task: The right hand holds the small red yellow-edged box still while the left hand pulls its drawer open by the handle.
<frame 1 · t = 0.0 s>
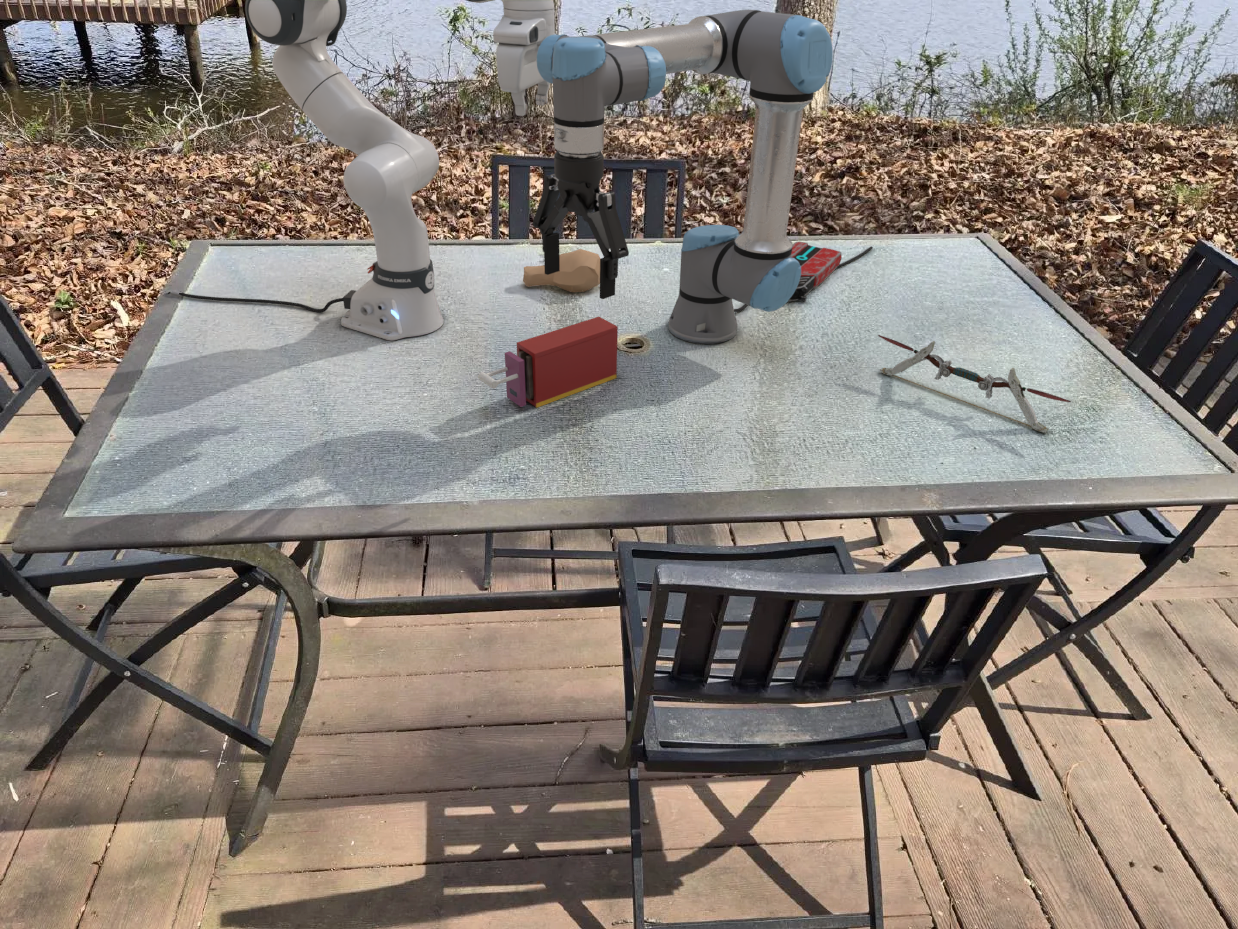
left hand: (531, 109, 161), 48 cm above the table, tool pointing down, fingers open, 8 cm apart
right hand: (579, 284, 144), 28 cm above the table, tool pointing down, fingers open, 13 cm apart
bow: (959, 401, 172), on the table
squash: (563, 287, 215), on the table
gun: (788, 277, 224), on the table
red yellow-edged box: (568, 386, 173), on the table
drawer: (540, 370, 166), point 6 cm above the table, slide at 1.9 cm
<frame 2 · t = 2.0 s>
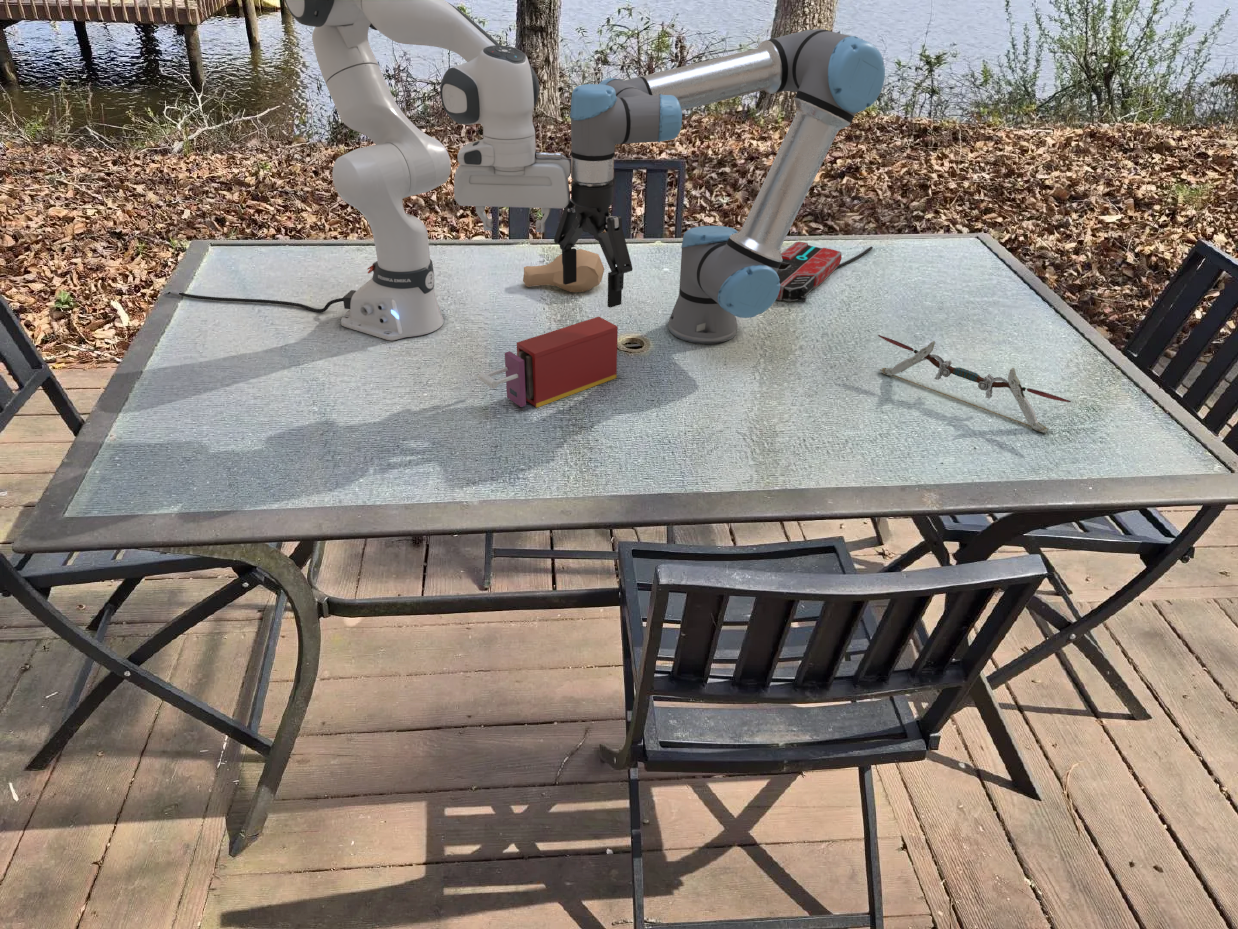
left hand: (514, 230, 158), 31 cm above the table, tool pointing down, fingers open, 8 cm apart
right hand: (591, 293, 166), 18 cm above the table, tool pointing down, fingers open, 13 cm apart
nothing on the table moved.
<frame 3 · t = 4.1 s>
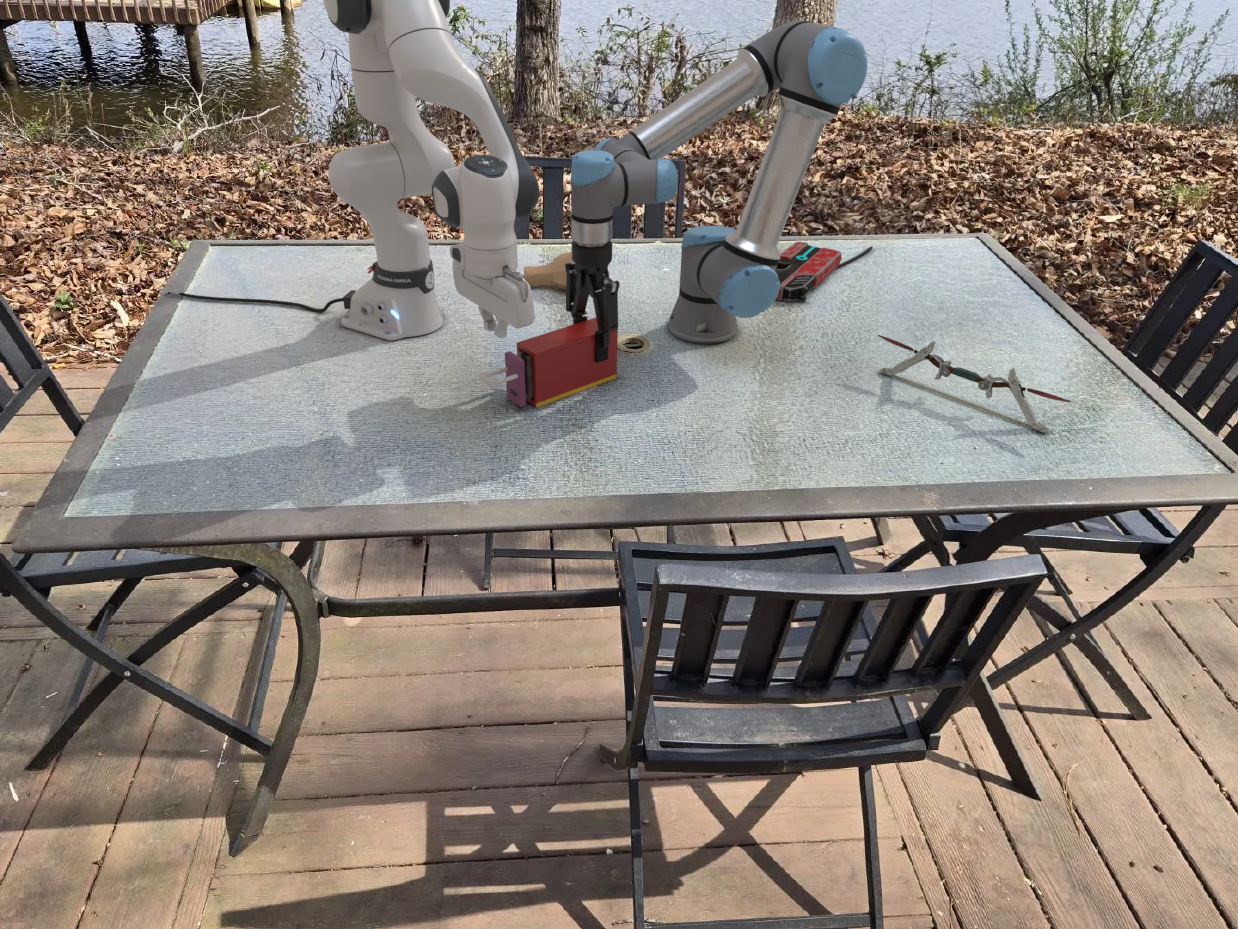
left hand: (495, 332, 156), 16 cm above the table, tool pointing down, fingers closed
right hand: (591, 354, 173), 5 cm above the table, tool pointing down, fingers closed on red yellow-edged box, 6 cm apart
red yellow-edged box: (568, 386, 173), on the table, touching right hand
everything else where it was.
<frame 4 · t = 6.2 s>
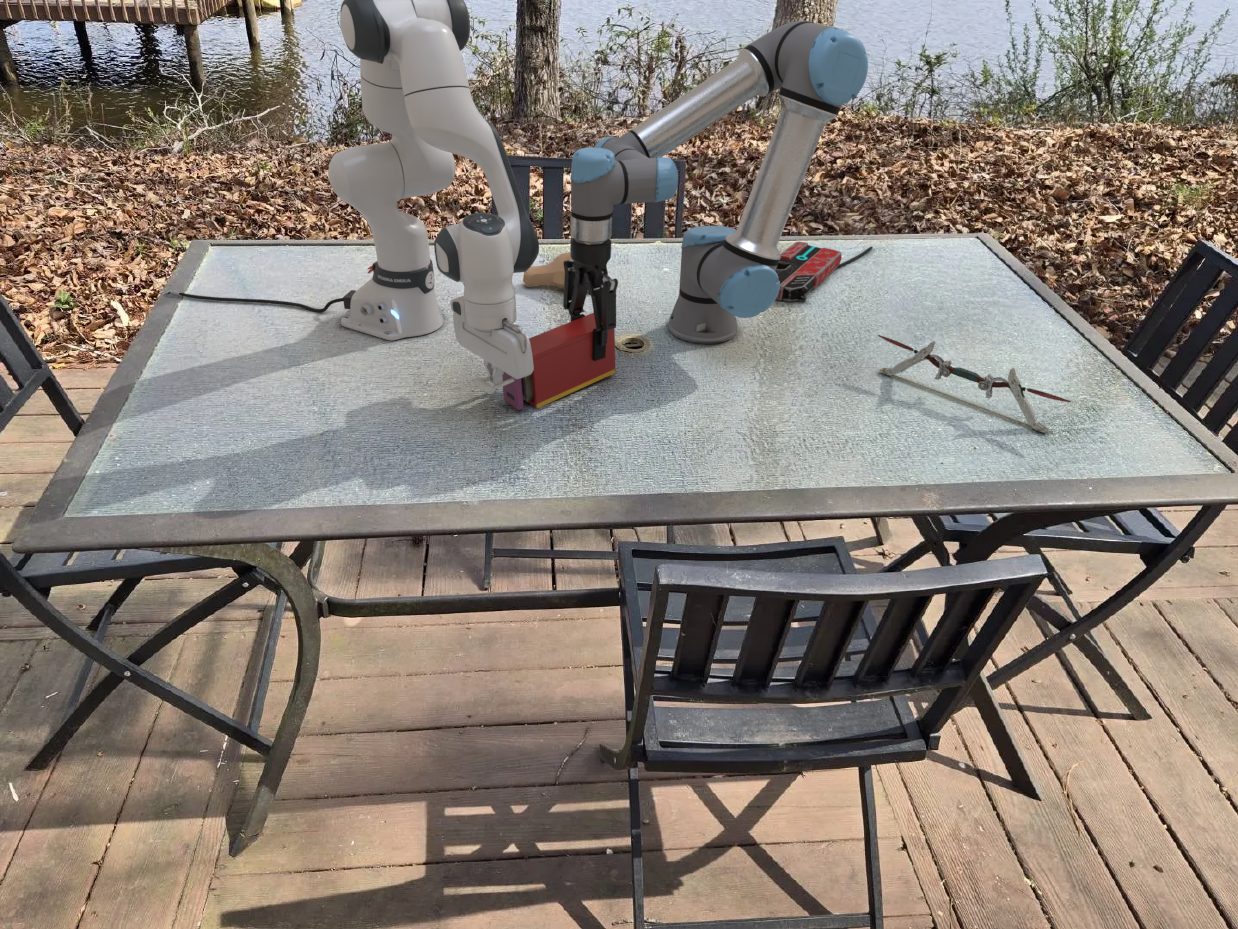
left hand: (496, 382, 159), 7 cm above the table, tool pointing down, fingers closed, pressing on drawer
right hand: (588, 352, 173), 6 cm above the table, tool pointing down, fingers closed on red yellow-edged box, 6 cm apart
red yellow-edged box: (567, 384, 173), point 1 cm above the table, touching right hand
drawer: (536, 372, 166), point 6 cm above the table, slide at 2.5 cm, touching left hand
everything else where it was.
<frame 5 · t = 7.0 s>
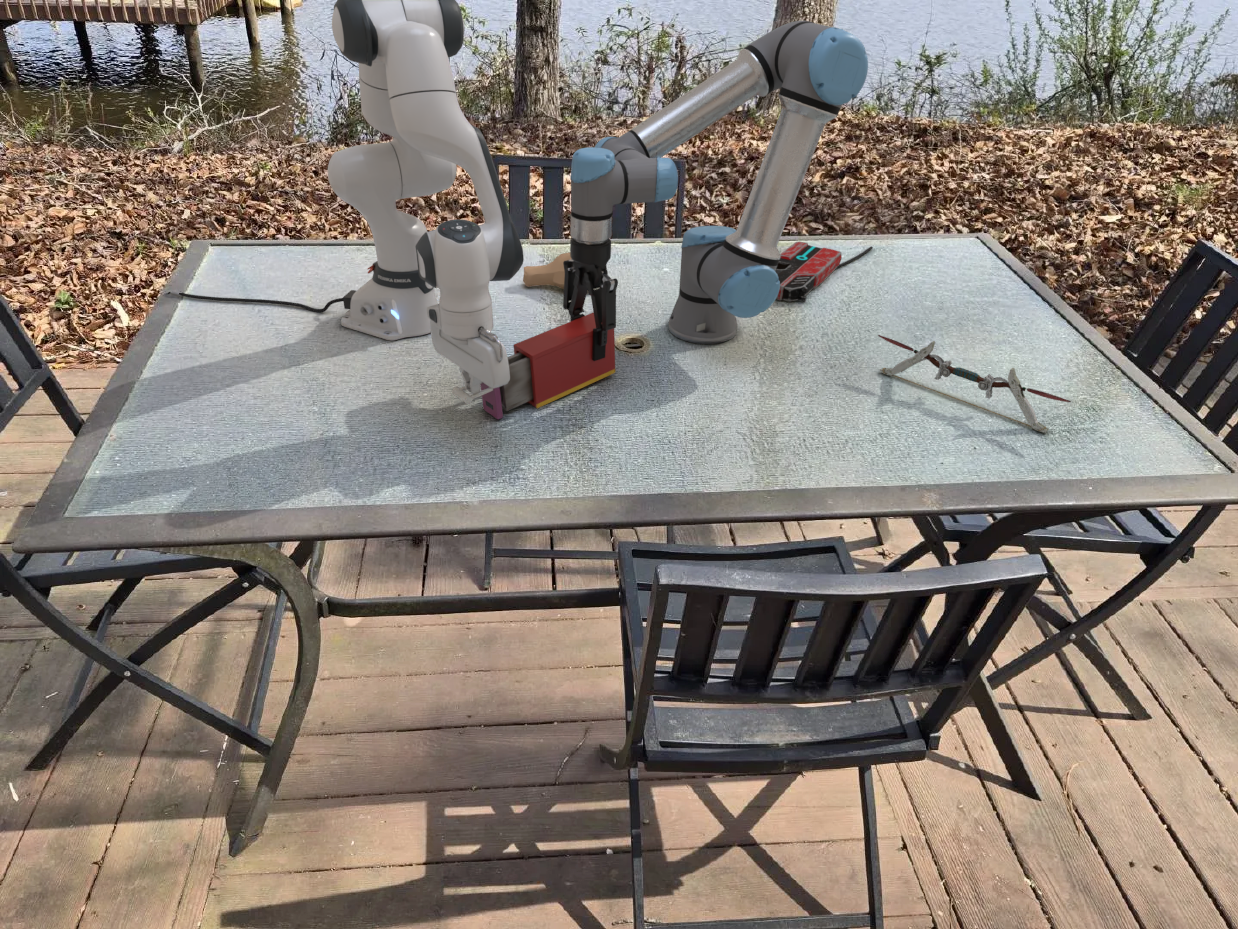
left hand: (473, 391, 157), 7 cm above the table, tool pointing down, fingers closed
right hand: (588, 352, 173), 6 cm above the table, tool pointing down, fingers closed on red yellow-edged box, 6 cm apart
red yellow-edged box: (567, 384, 173), point 1 cm above the table, touching right hand
drawer: (515, 380, 163), point 5 cm above the table, slide at 7.2 cm, touching left hand
everything else where it was.
when the right hand's fingers open (6 cm above the table, at t = 8.4 s): red yellow-edged box stays where it is, on the table.
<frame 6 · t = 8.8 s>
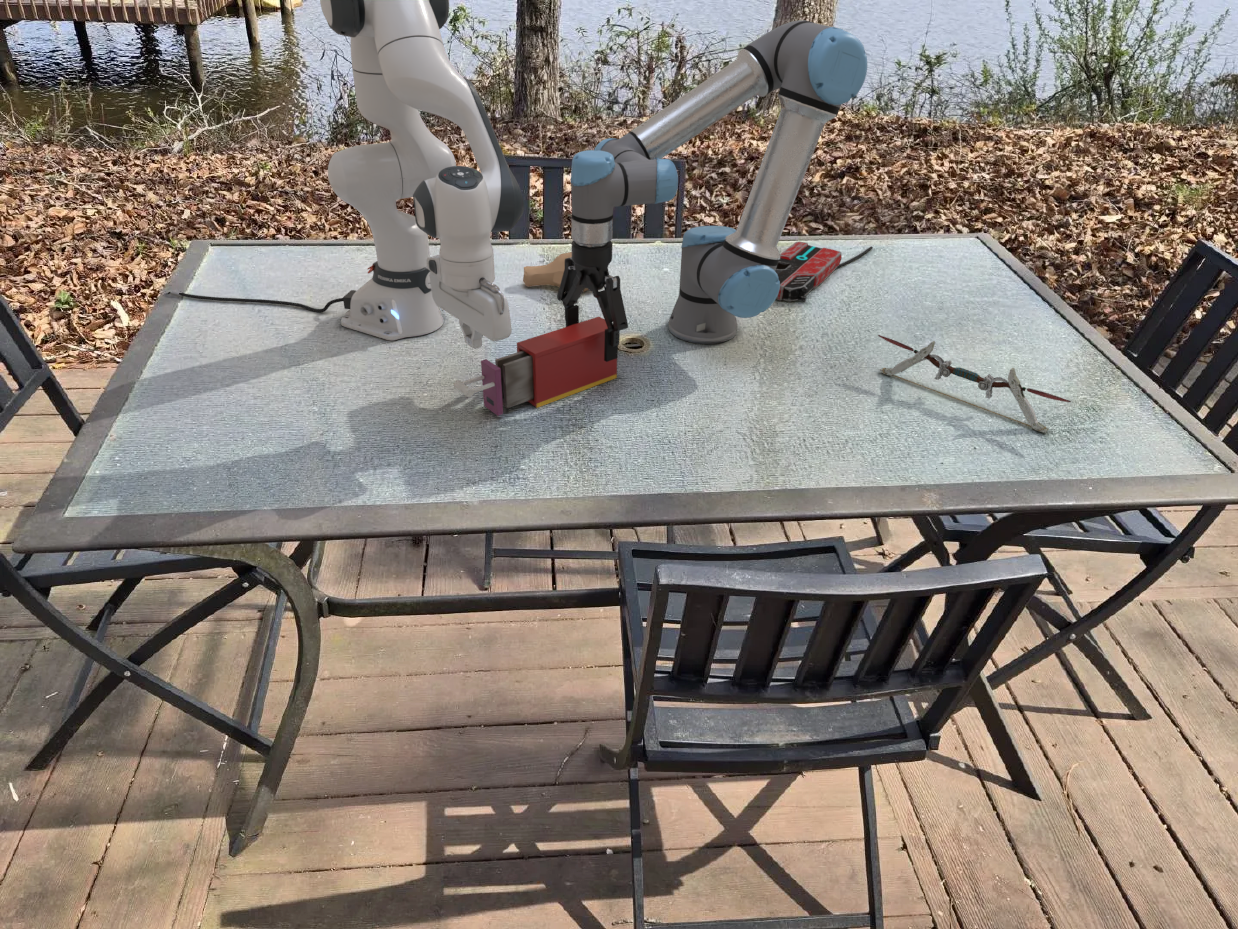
left hand: (473, 345, 154), 15 cm above the table, tool pointing down, fingers closed
right hand: (591, 348, 172), 7 cm above the table, tool pointing down, fingers open, 11 cm apart
red yellow-edged box: (568, 386, 173), on the table
drawer: (517, 378, 164), point 6 cm above the table, slide at 7.1 cm
everything else where it was.
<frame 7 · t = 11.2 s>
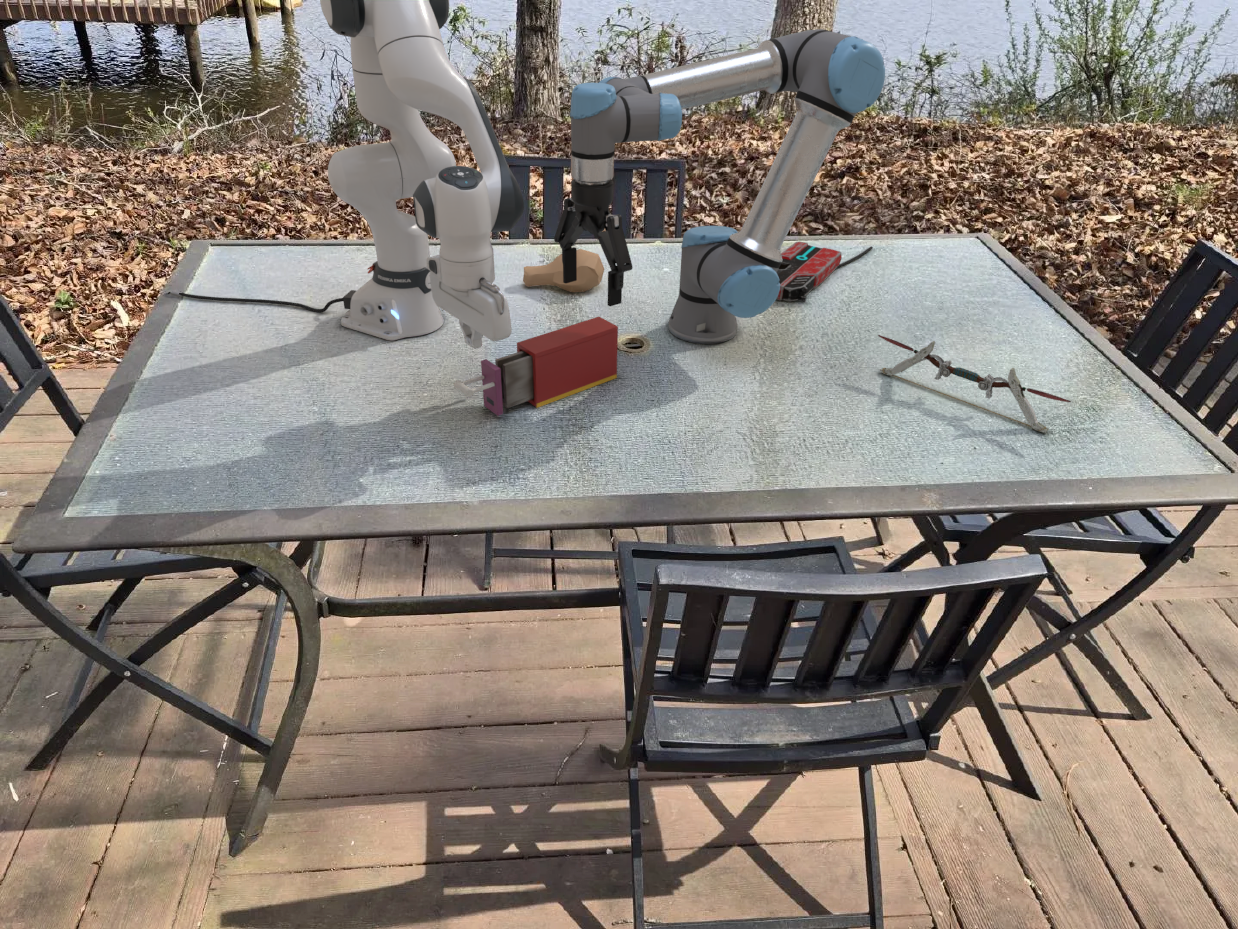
left hand: (473, 345, 154), 15 cm above the table, tool pointing down, fingers closed
right hand: (591, 292, 166), 18 cm above the table, tool pointing down, fingers open, 13 cm apart
nothing on the table moved.
at the end: drawer slide at 7.1 cm; red yellow-edged box tilted 0°; red yellow-edged box never tilted more than 4° during the clip; red yellow-edged box moved 0.1 cm from its start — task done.
